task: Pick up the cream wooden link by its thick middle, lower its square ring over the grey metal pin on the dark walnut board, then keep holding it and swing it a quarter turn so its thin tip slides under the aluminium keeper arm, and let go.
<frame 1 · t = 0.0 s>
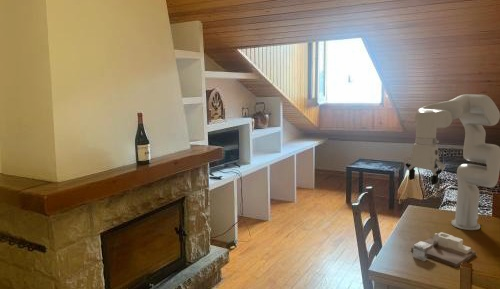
hand: (422, 181, 159), 31 cm above the table, tool pointing down, fingers open, 9 cm apart
keeper: (422, 257, 159), on the table
link: (457, 248, 163), point 1 cm above the table, touching board
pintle: (435, 249, 166), resting on board
board: (442, 252, 163), on the table
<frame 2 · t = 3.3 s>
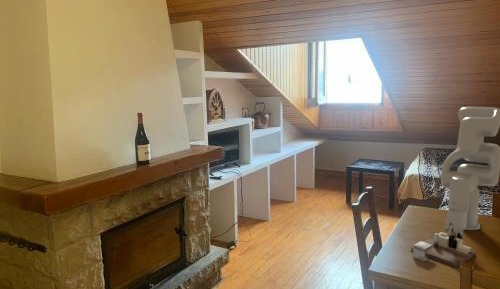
hand: (454, 246, 164), 2 cm above the table, tool pointing down, fingers closed on link, 4 cm apart
link: (457, 248, 163), point 2 cm above the table, touching board, gripper
when the fingers open (2 cm above the table, at t = 11.9 s): link stays where it is, resting on board.
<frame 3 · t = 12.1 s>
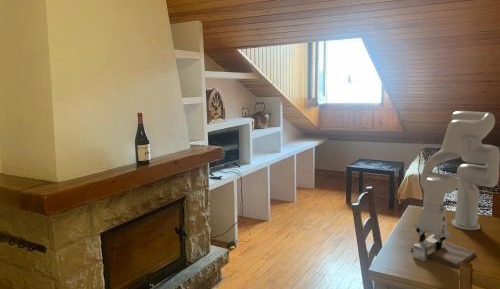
hand: (430, 246, 162), 3 cm above the table, tool pointing down, fingers open, 6 cm apart
link: (428, 250, 162), point 1 cm above the table, touching board
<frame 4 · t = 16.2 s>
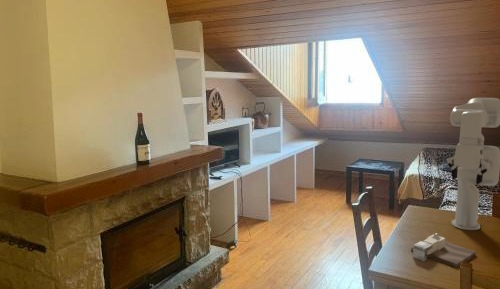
hand: (466, 181, 162), 30 cm above the table, tool pointing down, fingers open, 9 cm apart
nothing on the table moved.
at the end: link 0.0 cm from the target spot on the table beside the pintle, point 1.5 cm above the table; link tilted 0°; the gripper is holding nothing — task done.
